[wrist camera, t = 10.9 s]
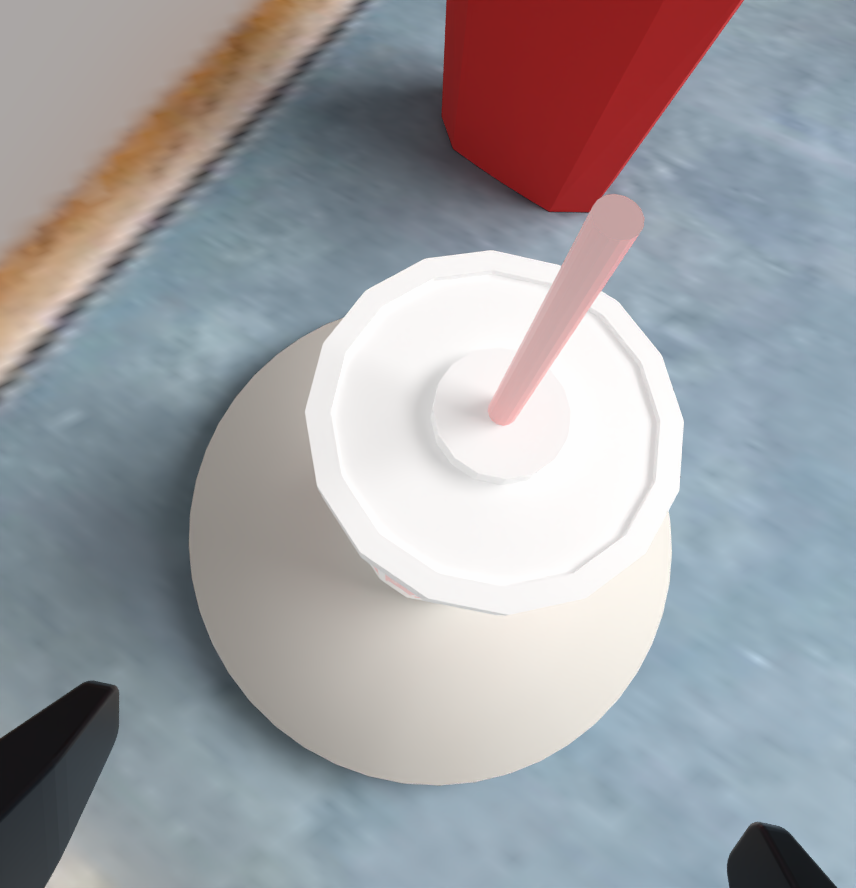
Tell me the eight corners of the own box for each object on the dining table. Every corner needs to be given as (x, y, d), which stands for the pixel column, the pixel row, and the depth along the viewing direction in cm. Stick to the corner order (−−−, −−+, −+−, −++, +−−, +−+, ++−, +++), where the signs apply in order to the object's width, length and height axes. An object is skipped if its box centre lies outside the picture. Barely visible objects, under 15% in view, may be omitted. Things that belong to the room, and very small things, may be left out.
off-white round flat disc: (613, 837, 18) (630, 849, 17) (121, 698, 18) (105, 702, 17) (682, 386, 22) (699, 372, 21) (289, 272, 22) (285, 252, 21)
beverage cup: (582, 523, 19) (1070, 242, 6) (439, 681, 18) (681, 771, 4) (435, 383, 20) (577, -129, 7) (284, 521, 18) (91, 186, 5)
